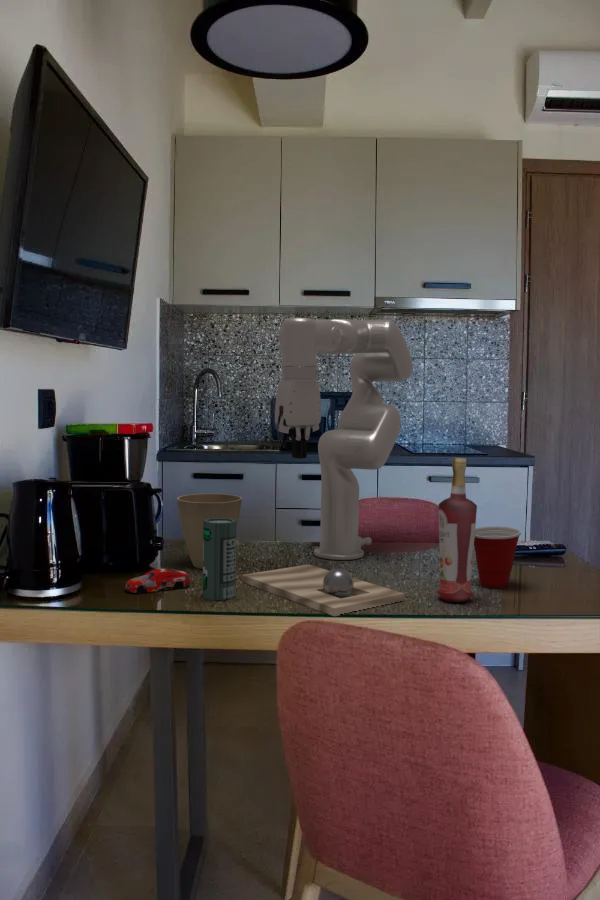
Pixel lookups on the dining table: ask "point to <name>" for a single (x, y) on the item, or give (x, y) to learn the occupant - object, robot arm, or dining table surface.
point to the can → (219, 558)
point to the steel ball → (338, 583)
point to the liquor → (456, 538)
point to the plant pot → (204, 518)
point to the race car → (158, 581)
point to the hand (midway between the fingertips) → (299, 457)
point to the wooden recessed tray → (320, 590)
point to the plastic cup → (495, 554)
